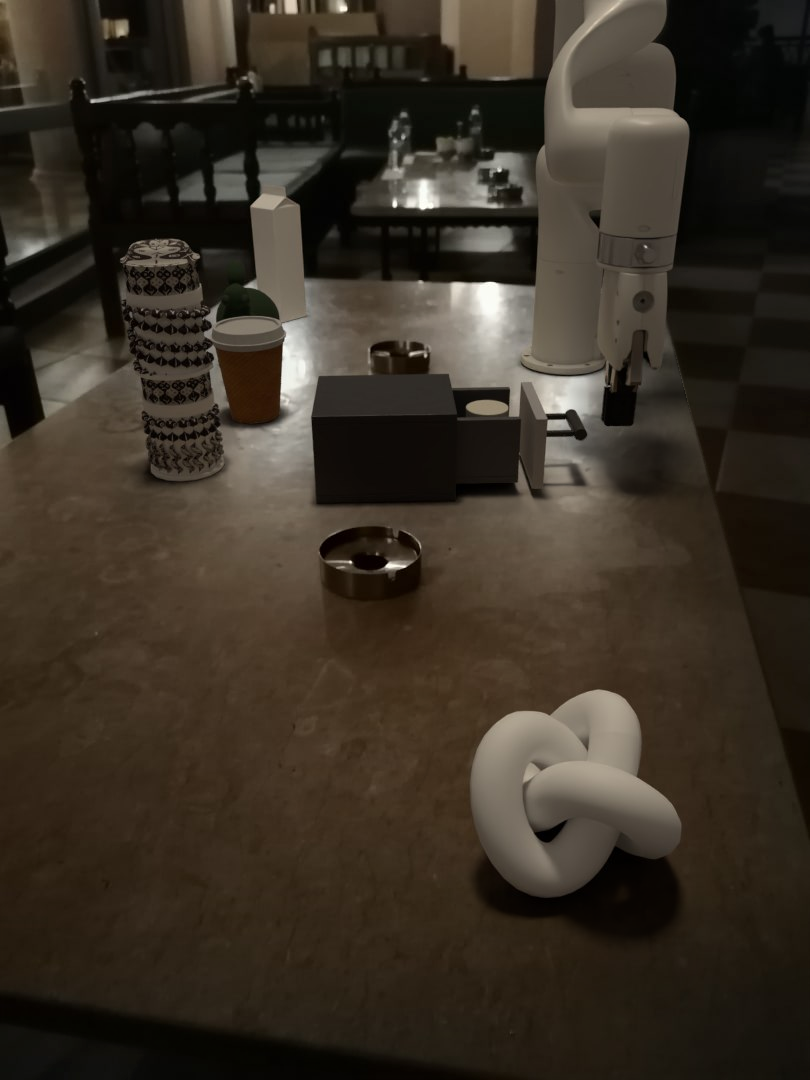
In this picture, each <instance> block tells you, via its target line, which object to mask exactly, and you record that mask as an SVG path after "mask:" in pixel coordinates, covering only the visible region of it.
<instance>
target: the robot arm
mask: <svg viewBox="0 0 810 1080" xmlns="http://www.w3.org/2000/svg"><path fill="white" fill-rule="evenodd" d="M554 1H555V18H554V19H555V20H554V36H553V51H552V66H551V69H550V72H549V74H548V79H547V82H546V86H545V93H544V103H543V104H544V106H543V121H544V125H543V126H544V144H543V145H542V146H541V148H540V150H539V151H538V153H537V156H536V161H535V185H536V196H537V213H538V215H537V216H538V218H537V219H538V221H537V223H538V228H537V229H538V231H537V236H538V237H537V252H536V267H535V268H536V269H535V270H536V271H535V286H534V287H535V288H534V303H533V304H534V305H533V320H532V321H533V322H532V336H531V346H529V347H527V348H525V349H523V350H522V352H521V354H520V362H521V364H522V365H523V366H524V367H526V368H528V369H531V370H533V371H535V372H539V373H545V374H551V375H560V376H563V375H565V376H570V375H573V376H574V375H583V374H584V375H585V374H590V373H593V372H596V371H599V370H601V369H602V368H603V367H604V366H605V373H604V374H605V375H604V385H605V386H604V387H603V396H602V407H601V417H600V420H601V421H602V423H603V425H604V426H605V427H632V426H633V425H634V423H635V415H636V406H637V398H638V391H639V387H640V386H641V385H642V382H643V363H644V362H645V363H646V364H647V366H648V367H649V368H650V369H651V370H652V371H658V370H659V369H661V367H662V365H663V358H664V350H665V349H664V348H665V347H664V346H665V338H666V337H665V336H666V323H667V310H668V309H667V308H668V271H671V270H672V269H673V267H674V259H675V251H676V243H677V237H678V236H677V235H678V230H679V222H680V213H681V206H682V197H683V190H684V183H685V175H686V167H687V157H688V150H689V142H690V127H689V124H688V123H687V121H686V120H685V119H684V118H682V117H680V115H679V114H678V113H677V112H675V110H674V106H675V98H676V97H675V96H676V87H677V86H676V84H677V72H676V71H677V70H676V63H675V58H674V56H673V54H672V52H671V51H670V49H669V48H668V47H666V46H665V45H663V44H661V43H656V42H653V41H654V40H655V39H656V38H658V36H659V35H660V33H661V32H662V30H663V28H664V26H665V24H666V21H667V14H668V13H667V12H668V11H667V10H668V6H667V0H554ZM592 211H600V219H599V227H598V226H597V224H596V223H595V222H594V221H593V219H592V218H591V216H590V213H591V212H592Z"/></svg>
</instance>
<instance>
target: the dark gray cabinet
mask: <svg viewBox="0 0 810 1080" xmlns="http://www.w3.org/2000/svg"><path fill="white" fill-rule="evenodd" d="M450 377H451V376H450V374H449V373H415V374H414V373H413V374H412V373H410V374H407V373H406V374H358V375H357V374H355V375H354V374H353V375H352V374H351V375H347V374H346V375H318V378H317V382H316V383H317V384H316V389H315V393H314V400H313V404H312V405H313V406H312V411H311V415H310V419H311V420H310V421H311V437H312V452H313V453H312V454H313V468H314V485H315V499H316V500H315V501H316V504H340V503H342V504H345V503H347V504H349V503H389V502H390V503H392V502H395V503H396V502H446V501H448V502H449V501H450V502H451V501H453V502H454V501H456V498H457V484H456V455H457V411H456V406H455V401H454V396H453V391H452V388H453V386H452V382H451V378H450Z"/></svg>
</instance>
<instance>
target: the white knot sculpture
mask: <svg viewBox="0 0 810 1080" xmlns="http://www.w3.org/2000/svg"><path fill="white" fill-rule="evenodd" d="M642 744H643V739H642V729H641V723H640V720H639V717H638V715H637V713H636V711H635V710H634V709H633V708H632V706H631V705H630V704H629V702H628V701H627V699H626V698H624V697H623V696H621V695H620V694H618V693H616V692H612V691H609V690H605V689H599V688H598V689H593V690H589V691H585V692H583V693H580V694H578V695H576V696H574V697H572V698H570V699H568V700H567V701H565V702H564V703H562V704H561V705H560V706H558V708H557V709H555V710H554V711H553V712H552V713H551V714H547V713H546V712H542V711H536V710H519V711H518V710H517V711H514V712H511V713H508V714H506V715H505V716H503V717H501V719H499V720H498V721H496V723H494V724H493V725H492V726H490V728H489V730H488V731H487V732H485V734H484V735H483V737H482V739H481V740H480V742H479V745H478V747H477V748H476V751H475V755H474V758H473V760H472V764H471V770H470V778H469V804H470V810H471V816H472V821H473V826H474V828H475V831H476V834H477V837H478V840H479V843H480V845H481V847H482V848H483V851H484V852H485V854H486V856H487V858H488V860H489V862H490V863H491V865H492V866H493V867H494V868H495V869H496V871H497V872H498V873H499V875H500V876H501V877H502V878H503V879H504V880H505V881H506V882H507V883H509V884H510V885H511V886H513V887H514V888H515V889H516V890H518V891H520V892H523V893H525V894H527V895H529V896H531V897H537V898H544V899H551V898H559V897H563V896H566V895H569V894H572V893H575V892H576V891H577V890H579V889H581V888H583V887H584V886H585V885H587V884H588V883H589V882H591V881H592V879H594V878H595V876H596V875H597V874H599V872H600V871H601V869H602V868H604V865H605V864H606V863H607V861H608V859H609V858H610V856H611V854H612V852H613V850H614V848H615V847H616V848H617V849H620V850H621V851H624V852H625V853H627V854H630V855H633V856H637V857H641V858H644V859H650V860H657V859H661V858H663V857H667V856H669V855H671V854H672V853H673V852H674V850H675V849H676V848H677V847H678V846H679V844H680V843H681V838H682V837H681V836H682V827H683V826H682V822H681V819H680V817H679V815H678V813H677V811H676V808H675V807H674V805H673V804H672V802H671V801H670V800H669V799H668V798H667V797H666V796H665V795H663V794H662V793H661V792H660V791H658V790H657V789H656V788H654V787H652V786H651V785H650V784H648V783H647V782H645V781H643V780H642V779H640V778H639V777H638V773H639V769H640V763H641V758H642ZM565 821H566V822H565ZM564 822H565V823H564ZM562 823H564V825H563V826H562V828H561V830H560V831H559V832H558V833H557V835H556V836H555V837H554V838H553V839H552V840H551V841H549V842H545V841H542V840H541V839H540V838H538V837H537V835H536V834H535V833H540V832H546V831H549V830H551V829H553V828H555V827H556V826H558V825H560V824H562Z"/></svg>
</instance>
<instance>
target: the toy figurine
mask: <svg viewBox="0 0 810 1080" xmlns="http://www.w3.org/2000/svg"><path fill="white" fill-rule="evenodd" d="M225 279H226V282H227V284H228V285H229V286H227V287H226V288H225V289H224V292H223V293H222V296H221V299H220V302H219V304H218V306H217V309H216V312H215V313H216V315H215V323H217V322H219V321H222V320H225V319H229V318H234V317H242V316H263V317H271V318H275V319H277V320H279V321H280V318H279V312H278V309H277V307H276V305H275V303H274V302H273V301H272V300H271V298H270V297H268V296H267V295H266V294H265V293H263V292H262V291H260V290H258V289H257V288H254V287H245V286H243V285H244V284H245V281H246V269H245V265H244V264H243V262H242V260H241V261H240V260H239V259H233V260H231V261H229V263H228V264H227V266H226V270H225Z"/></svg>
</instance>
